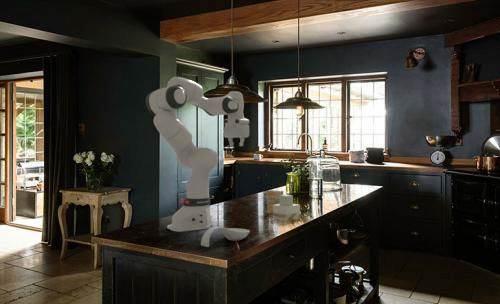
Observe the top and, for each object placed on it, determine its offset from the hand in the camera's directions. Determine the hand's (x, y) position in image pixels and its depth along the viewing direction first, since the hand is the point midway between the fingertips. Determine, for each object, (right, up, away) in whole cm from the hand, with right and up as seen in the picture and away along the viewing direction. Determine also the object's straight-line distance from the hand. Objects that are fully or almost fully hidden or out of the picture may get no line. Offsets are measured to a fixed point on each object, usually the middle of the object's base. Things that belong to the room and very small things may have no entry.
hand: (236, 145), depth 231 cm
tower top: (+27, -35, -11) cm, 46 cm away
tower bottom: (+27, -39, -11) cm, 49 cm away
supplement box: (+22, -39, +5) cm, 45 cm away
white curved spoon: (-3, -42, -56) cm, 69 cm away
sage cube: (+27, -31, -12) cm, 43 cm away
